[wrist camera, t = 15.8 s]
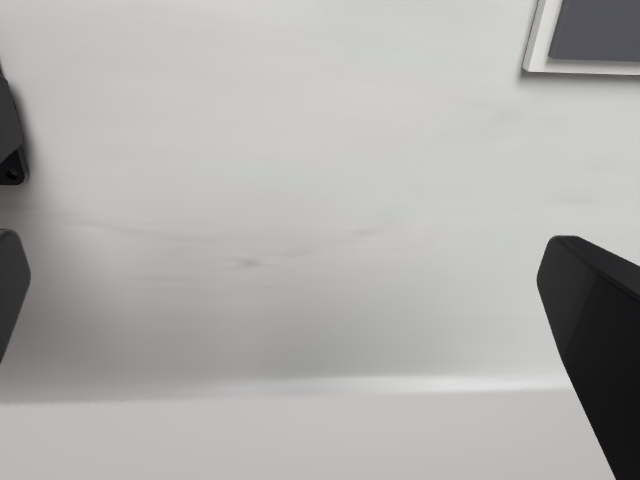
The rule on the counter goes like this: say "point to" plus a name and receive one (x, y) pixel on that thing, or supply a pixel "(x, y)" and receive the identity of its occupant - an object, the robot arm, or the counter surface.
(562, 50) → the ink pad
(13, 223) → the counter surface
